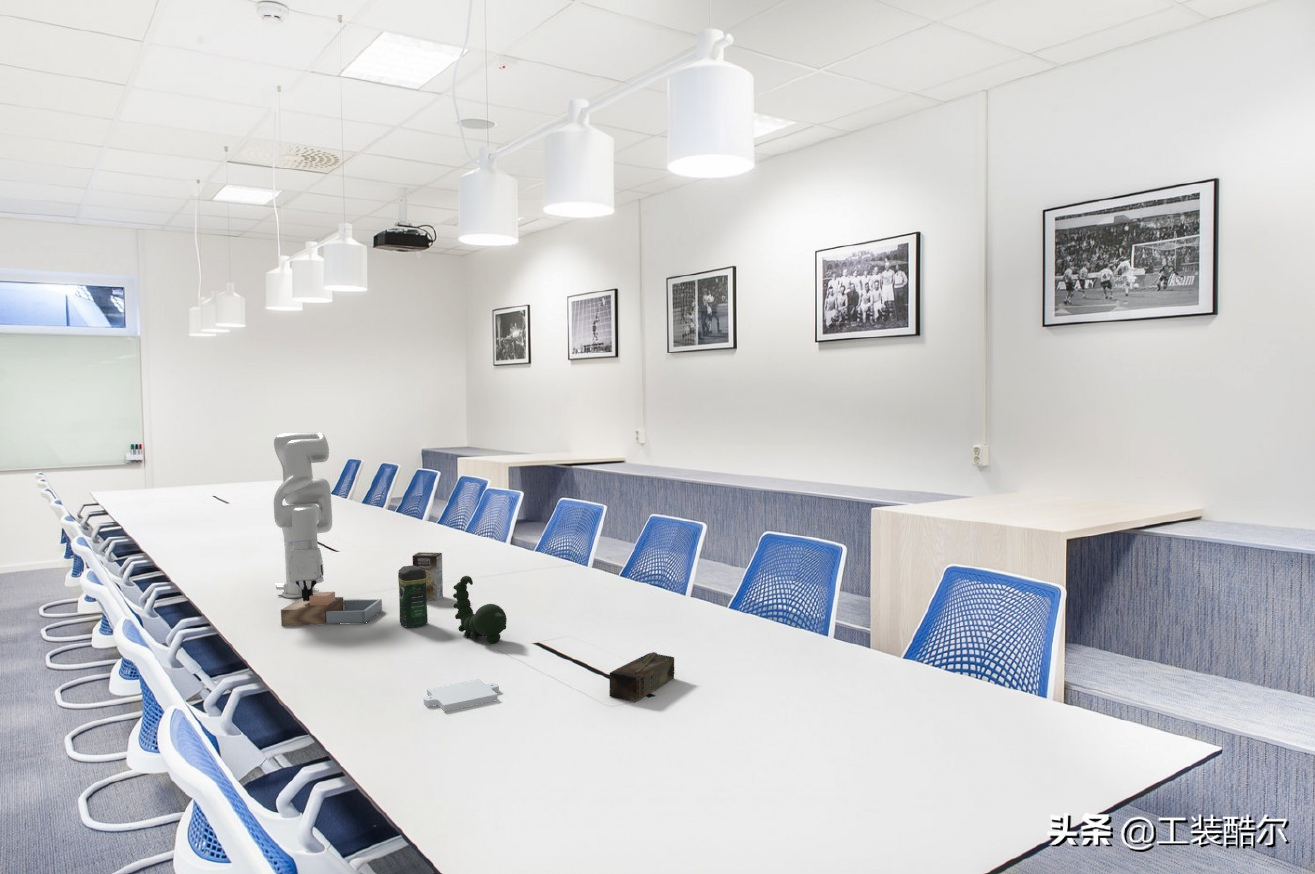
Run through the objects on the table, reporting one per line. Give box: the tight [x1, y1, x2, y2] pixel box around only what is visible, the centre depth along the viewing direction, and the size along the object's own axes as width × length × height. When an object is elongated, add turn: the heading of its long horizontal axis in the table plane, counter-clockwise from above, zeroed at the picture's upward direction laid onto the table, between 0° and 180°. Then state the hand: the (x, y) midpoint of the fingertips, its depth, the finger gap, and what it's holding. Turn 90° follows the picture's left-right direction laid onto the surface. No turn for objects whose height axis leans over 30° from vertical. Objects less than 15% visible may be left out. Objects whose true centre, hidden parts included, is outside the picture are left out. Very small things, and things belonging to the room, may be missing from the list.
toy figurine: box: [452, 575, 508, 645], centre depth 255 cm, size 9×19×25 cm
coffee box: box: [412, 551, 444, 601], centre depth 307 cm, size 9×6×16 cm
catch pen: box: [324, 598, 383, 625], centre depth 283 cm, size 13×16×4 cm
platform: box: [280, 596, 344, 626], centre depth 283 cm, size 14×16×5 cm
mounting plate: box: [423, 678, 500, 712], centre depth 206 cm, size 18×13×2 cm
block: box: [309, 591, 336, 606], centre depth 283 cm, size 6×6×3 cm
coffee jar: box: [397, 564, 429, 628], centre depth 272 cm, size 10×8×19 cm
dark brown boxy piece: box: [609, 651, 675, 703], centre depth 210 cm, size 8×19×7 cm, turn 150°
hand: (307, 600), depth 283 cm, fingers closed
